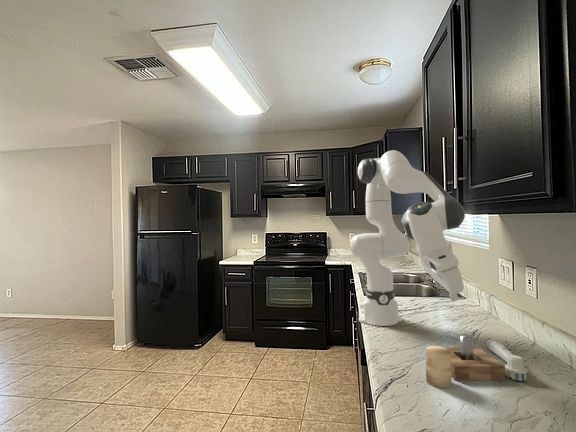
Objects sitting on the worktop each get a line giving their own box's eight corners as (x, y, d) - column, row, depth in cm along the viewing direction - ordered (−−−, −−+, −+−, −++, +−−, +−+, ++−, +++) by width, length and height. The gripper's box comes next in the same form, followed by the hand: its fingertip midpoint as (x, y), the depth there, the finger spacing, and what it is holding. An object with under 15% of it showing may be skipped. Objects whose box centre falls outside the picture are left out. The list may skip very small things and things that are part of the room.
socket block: (434, 359, 110) (434, 347, 110) (477, 359, 110) (477, 346, 110) (454, 380, 96) (454, 366, 96) (505, 380, 96) (504, 365, 96)
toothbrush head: (500, 338, 118) (529, 356, 94) (501, 358, 117) (531, 382, 93) (483, 336, 119) (508, 354, 95) (484, 356, 118) (509, 379, 95)
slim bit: (458, 366, 104) (457, 334, 104) (469, 366, 104) (469, 333, 104) (464, 371, 101) (463, 338, 101) (476, 371, 101) (475, 338, 101)
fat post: (422, 376, 98) (422, 345, 98) (445, 376, 98) (444, 345, 98) (431, 388, 92) (431, 355, 92) (455, 388, 91) (455, 354, 91)
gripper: (411, 247, 114) (423, 283, 117) (439, 269, 94) (452, 312, 97) (429, 240, 113) (441, 276, 116) (461, 261, 93) (474, 304, 96)
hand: (446, 293), depth 106 cm, fingers open, 8 cm apart
